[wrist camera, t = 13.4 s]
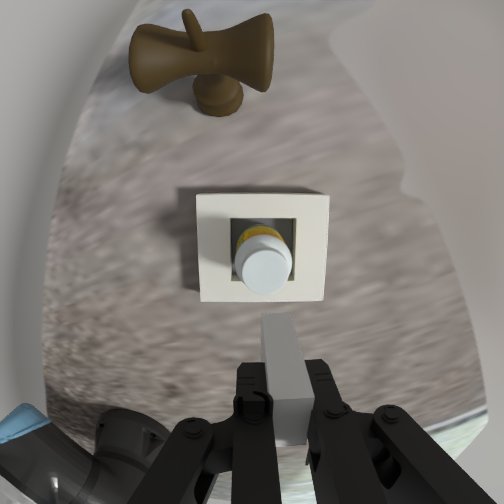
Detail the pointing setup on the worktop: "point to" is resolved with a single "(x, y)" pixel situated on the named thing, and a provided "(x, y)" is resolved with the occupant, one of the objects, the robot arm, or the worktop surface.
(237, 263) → the supplement bottle
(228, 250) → the socket block
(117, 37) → the worktop surface
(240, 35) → the kendama
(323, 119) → the worktop surface
